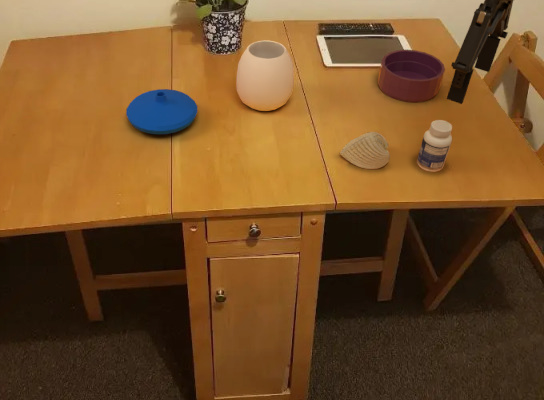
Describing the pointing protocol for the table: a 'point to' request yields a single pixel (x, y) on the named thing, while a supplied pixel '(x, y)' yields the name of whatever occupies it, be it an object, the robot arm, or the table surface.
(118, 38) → the table surface
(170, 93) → the blue lid with knob
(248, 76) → the white rounded pot
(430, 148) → the pill bottle
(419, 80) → the bowl
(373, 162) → the seashell
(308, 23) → the table surface
